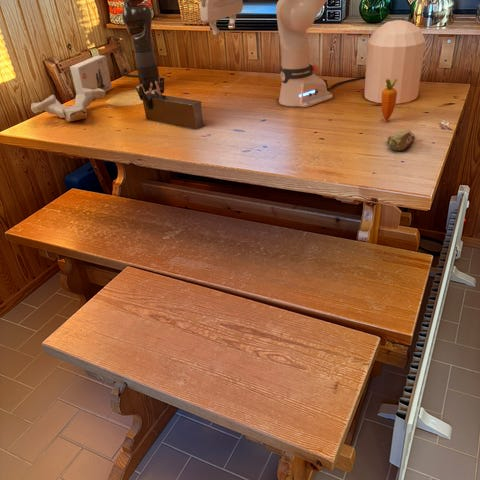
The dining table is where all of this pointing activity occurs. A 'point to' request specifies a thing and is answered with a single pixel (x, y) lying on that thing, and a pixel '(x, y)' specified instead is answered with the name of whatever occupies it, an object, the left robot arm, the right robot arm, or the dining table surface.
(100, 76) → the skincare box
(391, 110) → the carrot
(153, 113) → the bar
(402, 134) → the rock
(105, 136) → the dining table surface
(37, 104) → the animal horns
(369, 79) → the container
